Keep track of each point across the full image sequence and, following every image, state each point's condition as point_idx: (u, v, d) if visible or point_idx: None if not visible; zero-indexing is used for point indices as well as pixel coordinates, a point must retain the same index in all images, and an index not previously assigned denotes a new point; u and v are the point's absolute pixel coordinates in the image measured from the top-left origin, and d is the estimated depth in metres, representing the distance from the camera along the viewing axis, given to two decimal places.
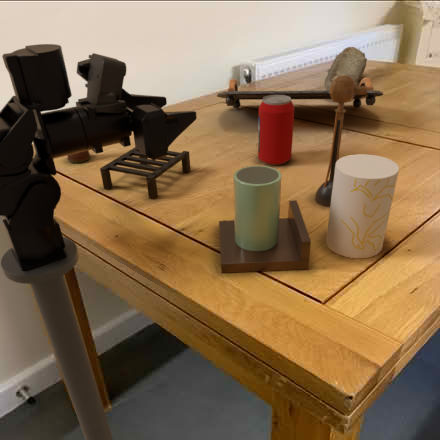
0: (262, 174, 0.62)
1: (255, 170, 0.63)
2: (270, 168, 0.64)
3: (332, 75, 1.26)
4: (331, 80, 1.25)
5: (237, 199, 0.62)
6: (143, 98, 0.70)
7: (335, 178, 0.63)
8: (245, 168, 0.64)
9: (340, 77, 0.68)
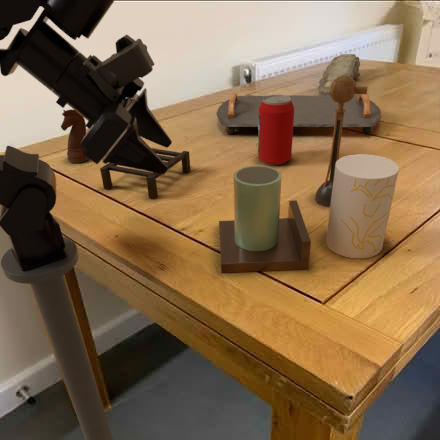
0: (262, 174, 0.62)
1: (255, 170, 0.63)
2: (270, 168, 0.64)
3: (323, 82, 1.28)
4: (323, 86, 1.26)
5: (237, 199, 0.62)
6: (153, 122, 0.64)
7: (335, 178, 0.63)
8: (245, 168, 0.64)
9: (340, 77, 0.68)
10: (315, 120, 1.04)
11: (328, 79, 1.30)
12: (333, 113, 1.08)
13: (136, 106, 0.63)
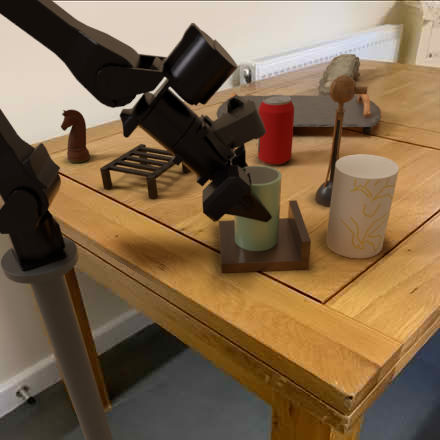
0: (262, 174, 0.62)
1: (255, 170, 0.63)
2: (270, 167, 0.64)
3: (323, 82, 1.28)
4: (323, 86, 1.26)
5: None
6: None
7: (335, 178, 0.63)
8: (245, 168, 0.64)
9: (340, 77, 0.68)
10: (315, 120, 1.04)
11: (328, 79, 1.30)
12: (333, 113, 1.08)
13: (236, 161, 0.65)
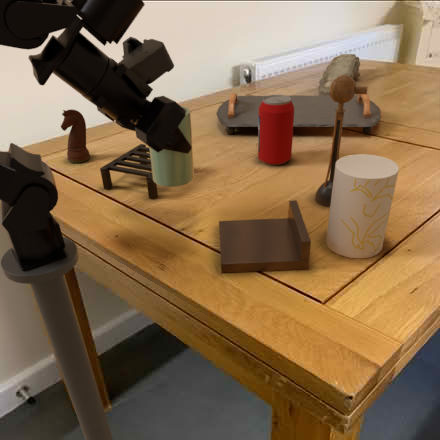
0: None
1: None
2: None
3: (323, 82, 1.28)
4: (323, 86, 1.26)
5: None
6: None
7: (335, 178, 0.63)
8: None
9: (340, 77, 0.68)
10: (315, 120, 1.04)
11: (328, 79, 1.30)
12: (333, 113, 1.08)
13: None
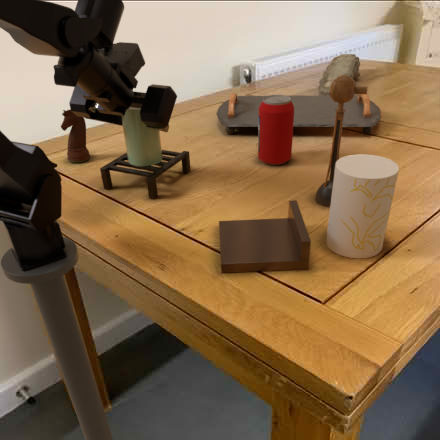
0: None
1: None
2: None
3: (323, 82, 1.28)
4: (323, 86, 1.26)
5: (138, 125, 0.80)
6: None
7: (335, 178, 0.63)
8: None
9: (340, 77, 0.68)
10: (315, 120, 1.04)
11: (328, 79, 1.30)
12: (333, 113, 1.08)
13: None
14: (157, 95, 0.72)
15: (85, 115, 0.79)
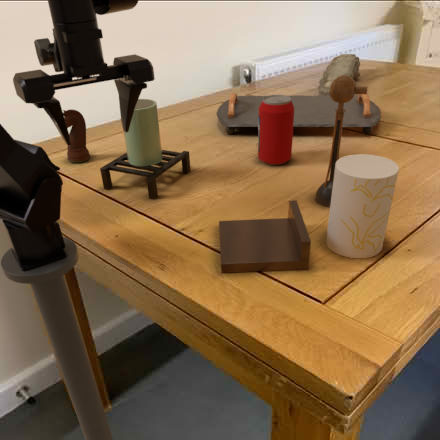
0: (139, 102, 0.81)
1: None
2: None
3: (323, 82, 1.28)
4: (323, 86, 1.26)
5: (138, 125, 0.80)
6: None
7: (335, 178, 0.63)
8: None
9: (340, 77, 0.68)
10: (315, 120, 1.04)
11: (328, 79, 1.30)
12: (333, 113, 1.08)
13: None
14: (132, 56, 0.68)
15: (47, 93, 0.61)
